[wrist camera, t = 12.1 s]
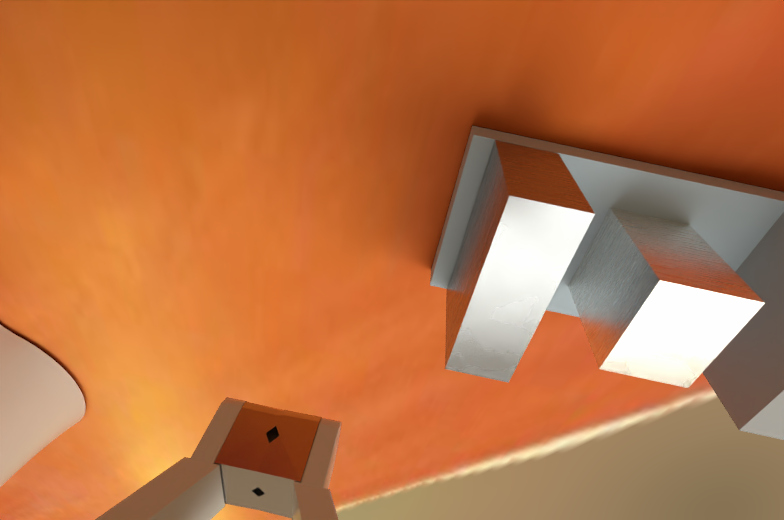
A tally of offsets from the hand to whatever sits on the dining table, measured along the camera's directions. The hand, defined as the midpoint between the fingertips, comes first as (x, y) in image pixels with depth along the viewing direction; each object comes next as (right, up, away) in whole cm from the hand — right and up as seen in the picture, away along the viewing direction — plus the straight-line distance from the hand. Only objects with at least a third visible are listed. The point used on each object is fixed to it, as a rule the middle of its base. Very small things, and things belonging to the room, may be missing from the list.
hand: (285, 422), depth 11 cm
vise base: (+15, +8, +10) cm, 20 cm away
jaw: (+8, +6, +11) cm, 15 cm away
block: (+15, +4, +11) cm, 19 cm away
